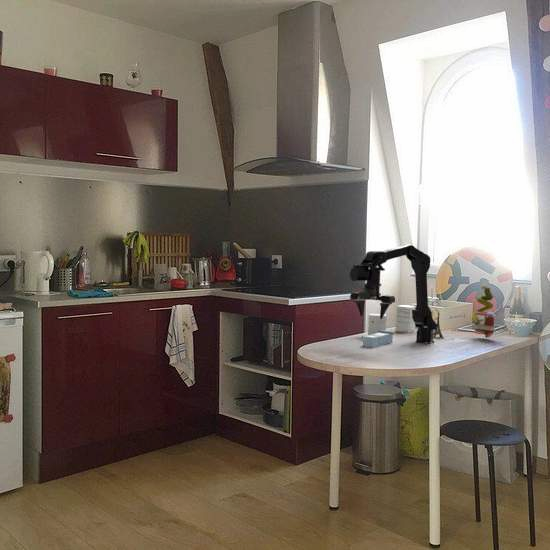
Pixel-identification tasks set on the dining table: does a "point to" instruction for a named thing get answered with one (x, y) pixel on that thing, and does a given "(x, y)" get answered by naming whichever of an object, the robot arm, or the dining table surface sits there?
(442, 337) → the eiffel tower figurine
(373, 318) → the small box
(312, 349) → the dining table surface
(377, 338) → the light blue block
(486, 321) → the prank snake can
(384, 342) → the blue notched block
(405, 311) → the white tall block
